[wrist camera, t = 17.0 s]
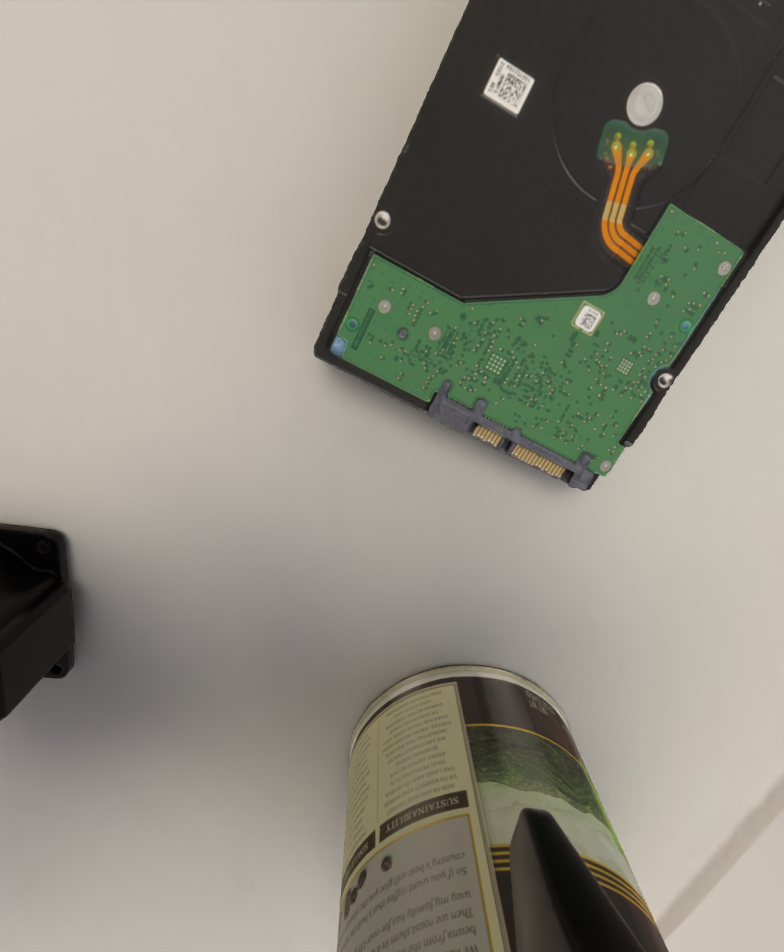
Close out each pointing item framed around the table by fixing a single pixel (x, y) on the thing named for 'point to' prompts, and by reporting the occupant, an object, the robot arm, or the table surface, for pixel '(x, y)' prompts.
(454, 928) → the coffee can
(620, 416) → the disk drive
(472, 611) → the table surface
